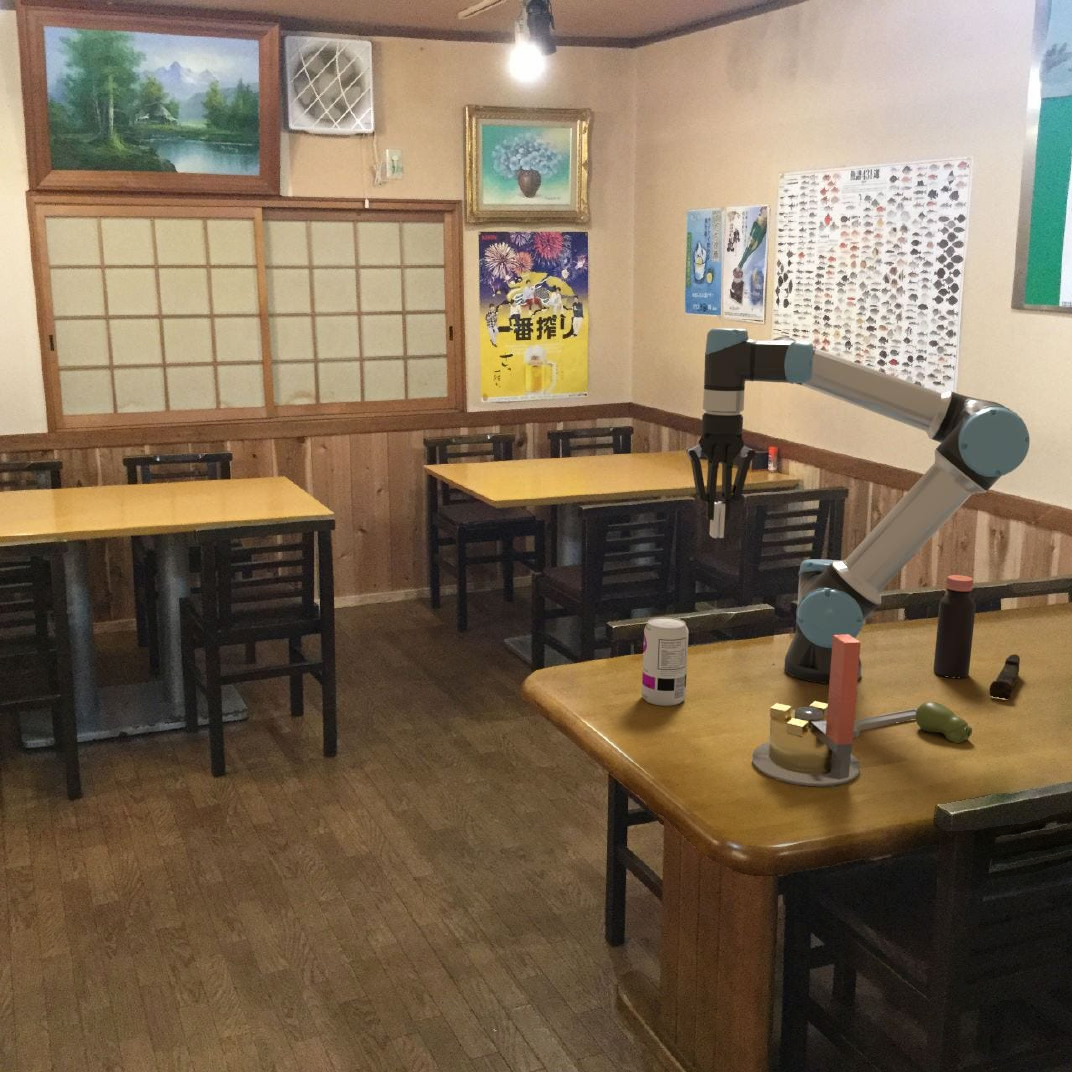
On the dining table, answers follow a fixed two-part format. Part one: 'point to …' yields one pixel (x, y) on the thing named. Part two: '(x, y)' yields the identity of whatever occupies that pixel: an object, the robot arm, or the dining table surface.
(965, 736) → the pear
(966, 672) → the bottle
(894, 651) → the dining table surface
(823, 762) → the toy block assembly
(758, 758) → the spindle base
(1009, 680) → the dark brown bar
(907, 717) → the adjustable wrench
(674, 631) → the supplement can
